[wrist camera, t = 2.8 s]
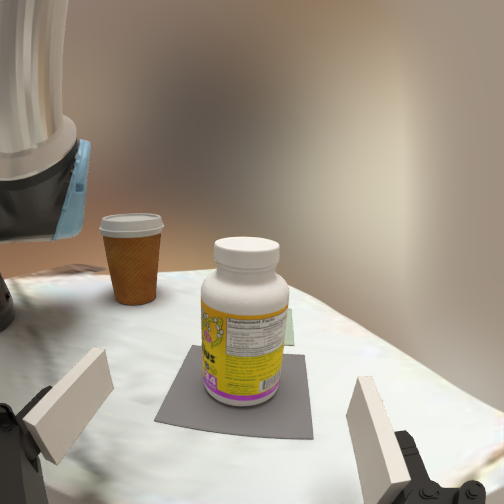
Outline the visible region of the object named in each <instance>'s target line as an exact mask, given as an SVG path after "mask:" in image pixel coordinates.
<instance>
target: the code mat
mask: <svg viewBox="0 0 504 504" xmlns="http://www.w3.org/2000/svg"><path fill="white" fill-rule="evenodd" d="M154 421H157V422H161V423H166V424H171V425H176V426H181V427H186V428H192V429H198V430H204V431H210V432H217V433H225V434H233V435H243V436H253V437H266V438H285V439H313V427H312V417H311V408H310V398H309V389H308V381H307V372H306V364H305V355H296V354H283V357H282V365H281V374H280V381H279V386H278V389H277V391H276V392H275V394H274V395H273V396H272V397H271V398H270V399H268V400H266V401H265V402H262V403H260V404H257V405H252V406H232V405H228V404H225V403H222V402H220V401H218V400H216V399H215V398H214V397H212V396H211V395H210V394H209V392H208V391H207V390H206V388H205V385H204V380H203V363H202V346H196V345H192V346H191V348H190V350H189V352H188V354H187V356H186V358H185V360H184V362H183V364H182V366H181V368H180V370H179V372H178V374H177V376H176V378H175V380H174V382H173V384H172V386H171V388H170V390H169V392H168V394H167V396H166V398H165V400H164V402H163V404H162V405H161V407H160V409H159V411H158V413H157V415H156V417H155V419H154Z"/></svg>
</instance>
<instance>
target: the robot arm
mask: <svg viewBox="0 0 504 504" xmlns="http://www.w3.org/2000/svg"><path fill="white" fill-rule="evenodd" d="M68 1H69V0H0V243H16V242H33V241H55V240H56V239H62V238H69V237H74V236H76V235H77V234H79V233H80V231H81V230H82V227H83V221H84V211H85V199H86V189H87V178H88V169H89V161H90V151H91V144H90V142H89V141H84V140H83V139H81V140H78V141H77V131H76V126H75V124H74V122H73V121H72V120H71V119H69V118H68V117H66V116H64V115H63V114H62V60H63V44H64V33H65V23H66V14H67V8H68ZM14 315H15V309H14V305H13V300H12V296H11V294H10V292H9V290H8V288H7V286H6V284H5V282H4V280H3V277H2V275H1V273H0V331H1V330H2V329H4V328H5V327H6V326H7V325H8V324H9V323H10V322H11V321H12V319H13V318H14ZM113 389H114V387H113V383H112V379H111V375H110V371H109V366H108V362H107V357H106V352H105V349H101V348H97V347H93V348H92V349H91V350H90V351H89V352H88V353H87V354H86V355H85V356H84V357H83V358H82V359H81V360H80V361H79V362H78V363H77V364H76V365H75V366H74V367H73V368H72V369H71V370H70V371H69V372H68V373H67V374H66V375H65V376H64V377H63V378H62V379H61V380H60V381H59V382H58V383H57V384H56V385H55V386H54V387H52V386H48V387H46V388H44V389H42V390H41V391H40V392H39V393H38V394H37V395H36V397H34V398H33V399H32V400H31V402H29V403H28V404H27V405H26V406H25V407H24V408H23V409H22V410H21V411H20V412H19V413H18V414H17V415H16V416H15V415H14V413H13V411H12V409H11V407H10V406H9V405H7V404H5V403H0V504H48V500H47V495H46V491H45V486H44V481H43V475H42V470H41V464H40V459H39V457H38V455H39V453H40V452H41V453H42V454H43V456H44V458H45V459H46V460H48V461H50V462H52V463H54V464H56V465H58V464H59V463H60V462H61V460H62V459H63V457H64V456H65V454H66V453H67V452H68V450H69V449H70V447H71V446H72V445H73V443H74V442H75V440H76V439H77V438H78V436H79V435H80V434H81V432H82V431H83V429H84V428H85V427H86V425H87V424H88V422H89V421H90V420H91V418H92V417H93V416H94V414H95V413H96V412H97V410H98V409H99V407H100V406H101V405H102V403H103V402H104V401H105V399H106V398H107V397H108V395H109V394H110V393H111V391H112V390H113ZM346 418H347V422H348V427H349V431H350V436H351V440H352V445H353V449H354V454H355V459H356V464H357V468H358V473H359V478H360V483H361V489H362V494H363V499H364V504H485V498H486V491H485V487H484V486H483V484H481V483H480V482H478V481H474V480H472V481H467V482H465V483H464V484H463V485H462V486H461V487H460V488H442V487H440V485H439V484H438V483H436V482H434V481H431V480H430V478H429V476H428V474H427V471H426V469H425V466H424V464H423V461H422V459H421V456H420V455H419V451H418V449H417V448H416V444H415V442H414V439H413V437H412V436H411V435H410V434H409V433H408V432H407V431H406V430H404V431H397V432H394V431H393V428H392V425H391V423H390V420H389V418H388V415H387V412H386V410H385V407H384V405H383V402H382V400H381V397H380V395H379V392H378V390H377V387H376V385H375V383H374V380H373V378H372V376H371V377H358V378H357V381H356V385H355V388H354V391H353V395H352V398H351V401H350V404H349V408H348V411H347V414H346Z"/></svg>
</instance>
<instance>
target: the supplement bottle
mask: <svg viewBox="0 0 504 504" xmlns="http://www.w3.org/2000/svg"><path fill="white" fill-rule="evenodd" d="M214 259H215V260H216V264H217V271H215V272H213V273H211V274H210V275H209V276H207V277H206V279H205V280H204V282H203V284H202V287H201V329H202V363H203V380H204V385H205V388H206V390H207V391H208V392H209V394H210V395H211V396H212V397H214V398H215V399H216V400H218V401H220V402H222V403H225V404H228V405H232V406H252V405H257V404H260V403H262V402H265V401H266V400H268V399H270V398H271V397H272V396H273V395H274V394H275V392H276V391H277V389H278V386H279V381H280V374H281V365H282V357H283V348H284V339H285V330H286V321H287V311H288V302H289V288H288V285H287V283H286V282H285V280H284V279H283V278H282V277H281V276H280V275H278V274H276V273H275V267H276V266H277V262H278V261H279V244H278V243H277V242H275V241H272V240H268V239H263V238H255V237H230V238H223V239H219V240H217V241H216V242H215V245H214Z"/></svg>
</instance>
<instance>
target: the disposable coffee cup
mask: <svg viewBox="0 0 504 504" xmlns="http://www.w3.org/2000/svg"><path fill="white" fill-rule="evenodd" d="M163 228H164V224H162V219H161V216H159V215H155V214H120V215H112V216H107V217H104V218H102V223H101V227H100V228H99V230H100V231H101V234H102V235H103V240H104V246H105V251H106V256H107V262H108V266H109V271H110V276H111V281H112V285H113V289H114V294H115V298H116V301H118V302H119V303H122V304H126V305H140V304H145V303H148V302H151V301H152V300H154V299H155V298H156V285H157V270H158V260H159V249H160V238H161V232H162V229H163Z"/></svg>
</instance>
